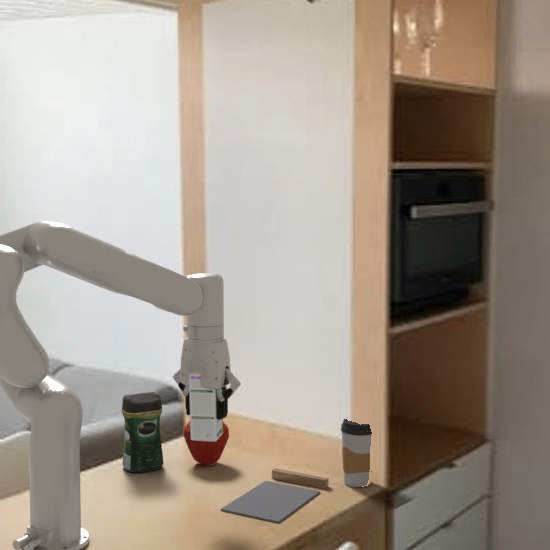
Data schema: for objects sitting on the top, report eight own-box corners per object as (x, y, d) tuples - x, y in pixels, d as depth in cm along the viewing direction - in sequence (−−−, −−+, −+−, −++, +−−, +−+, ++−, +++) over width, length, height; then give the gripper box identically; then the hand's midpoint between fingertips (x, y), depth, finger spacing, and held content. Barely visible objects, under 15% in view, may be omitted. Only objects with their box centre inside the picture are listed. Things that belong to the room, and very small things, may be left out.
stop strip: (325, 488, 202) (325, 480, 202) (271, 478, 208) (271, 470, 208) (328, 486, 203) (328, 478, 203) (274, 476, 210) (275, 468, 209)
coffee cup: (382, 485, 204) (384, 422, 202) (353, 492, 200) (355, 427, 198) (360, 475, 211) (362, 414, 210) (332, 481, 207) (333, 418, 205)
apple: (174, 464, 218) (174, 416, 216) (206, 454, 226) (206, 408, 224) (206, 474, 210) (206, 425, 209) (237, 463, 218) (237, 416, 217)
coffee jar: (155, 460, 221) (155, 387, 218) (167, 469, 214) (166, 395, 212) (118, 465, 216) (117, 392, 214) (128, 475, 209) (127, 399, 207)
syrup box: (216, 442, 183) (216, 373, 181) (189, 440, 184) (188, 372, 182) (223, 434, 188) (223, 367, 187) (196, 432, 189) (196, 366, 188)
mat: (278, 523, 182) (278, 521, 182) (220, 510, 188) (220, 508, 188) (319, 492, 199) (320, 491, 199) (265, 482, 206) (265, 480, 206)
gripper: (160, 332, 184) (162, 415, 186) (233, 339, 176) (233, 426, 178) (180, 326, 191) (181, 406, 193) (251, 333, 183) (251, 416, 185)
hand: (206, 415), depth 186 cm, fingers closed on syrup box, 6 cm apart
